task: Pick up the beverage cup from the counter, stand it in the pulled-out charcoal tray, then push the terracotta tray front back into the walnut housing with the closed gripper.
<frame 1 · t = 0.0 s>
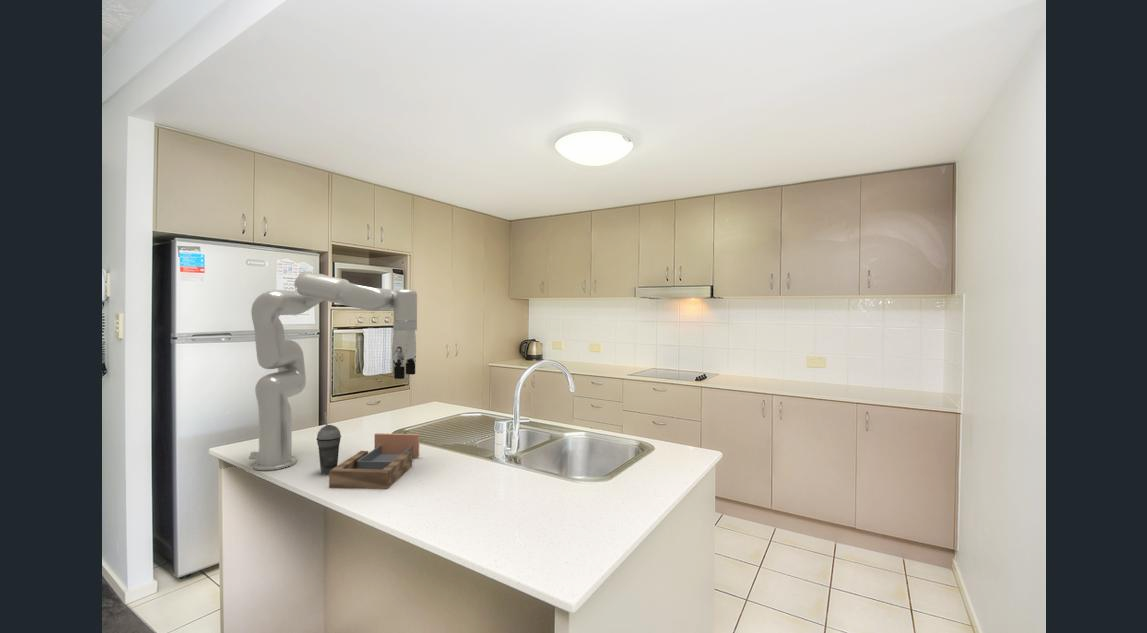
hand: (405, 376, 161), 31 cm above the counter, tool pointing down, fingers open, 9 cm apart
tray: (387, 452, 163), point 4 cm above the counter, slide at 8.0 cm
beverage cup: (329, 473, 156), on the counter
housing: (375, 474, 155), on the counter
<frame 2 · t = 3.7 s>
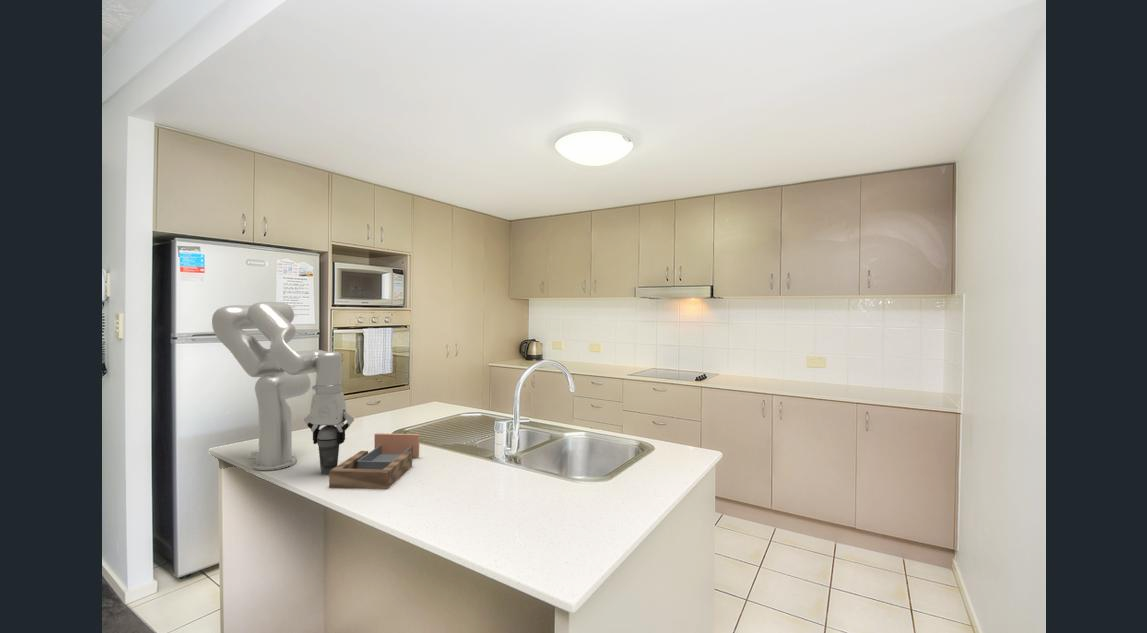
hand: (329, 442, 156), 10 cm above the counter, tool pointing down, fingers closed on beverage cup, 7 cm apart
beverage cup: (328, 472, 156), on the counter, touching gripper
everything else where it was.
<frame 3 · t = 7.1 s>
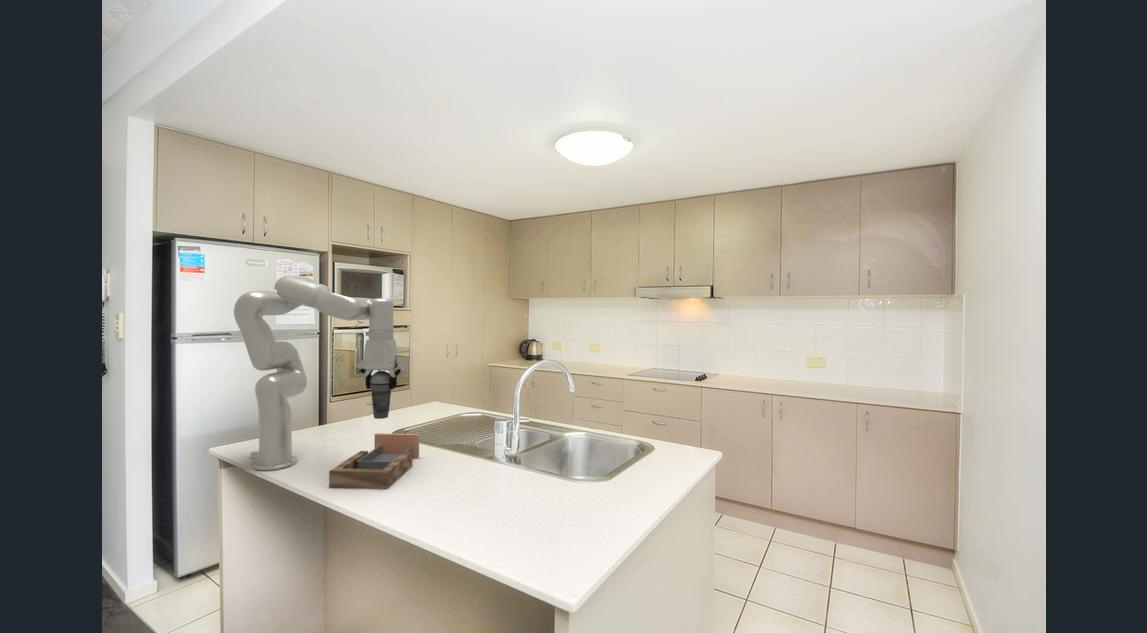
hand: (381, 388, 158), 28 cm above the counter, tool pointing down, fingers closed on beverage cup, 7 cm apart
beverage cup: (381, 417, 159), point 18 cm above the counter, touching gripper
everything else where it was.
when the fingers open (12 cm above the counter, at t = 10.5 s): beverage cup stays where it is, resting on tray.
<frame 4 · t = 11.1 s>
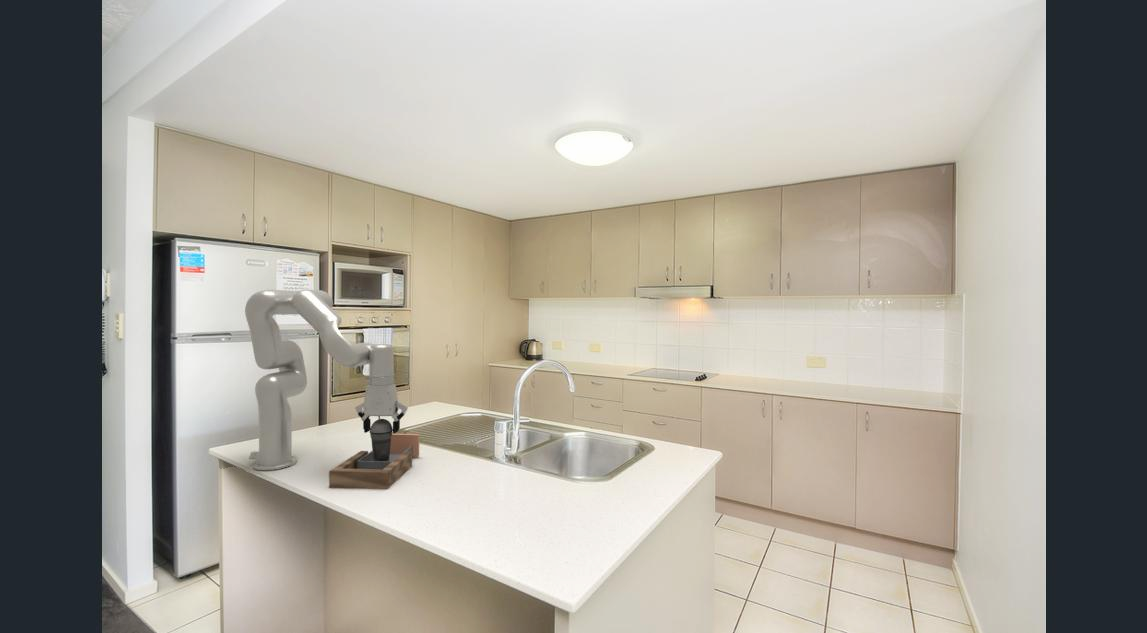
hand: (381, 431, 159), 13 cm above the counter, tool pointing down, fingers open, 9 cm apart
tray: (387, 452, 163), point 4 cm above the counter, slide at 8.0 cm, touching beverage cup
beverage cup: (381, 465, 159), point 1 cm above the counter, touching tray
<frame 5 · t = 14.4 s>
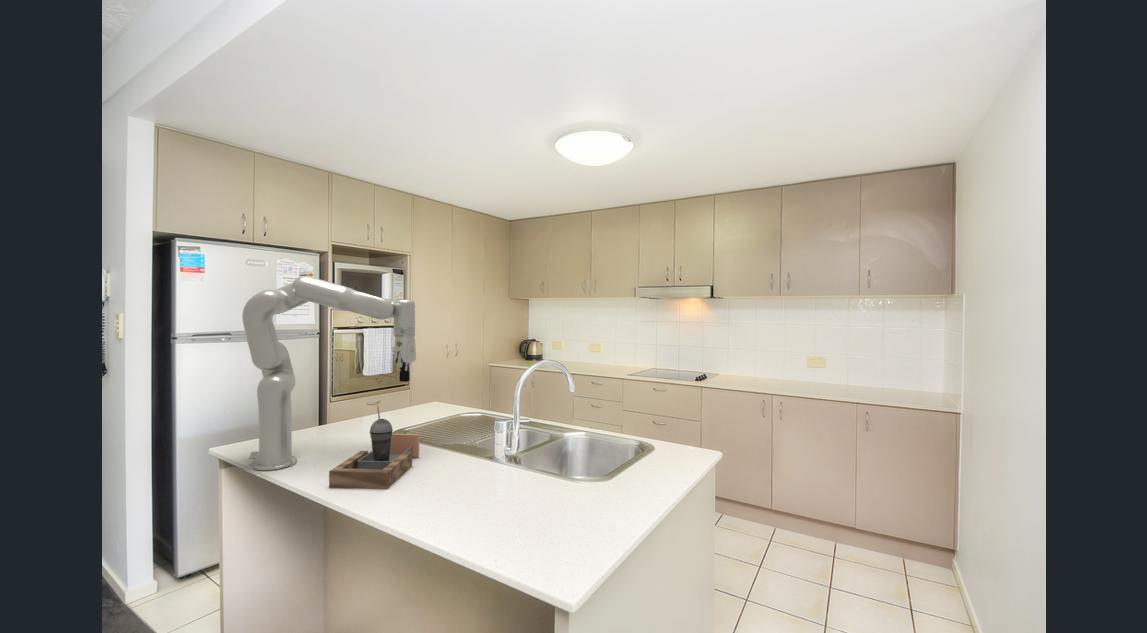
hand: (404, 381, 178), 27 cm above the counter, tool pointing down, fingers closed
nothing on the counter moved.
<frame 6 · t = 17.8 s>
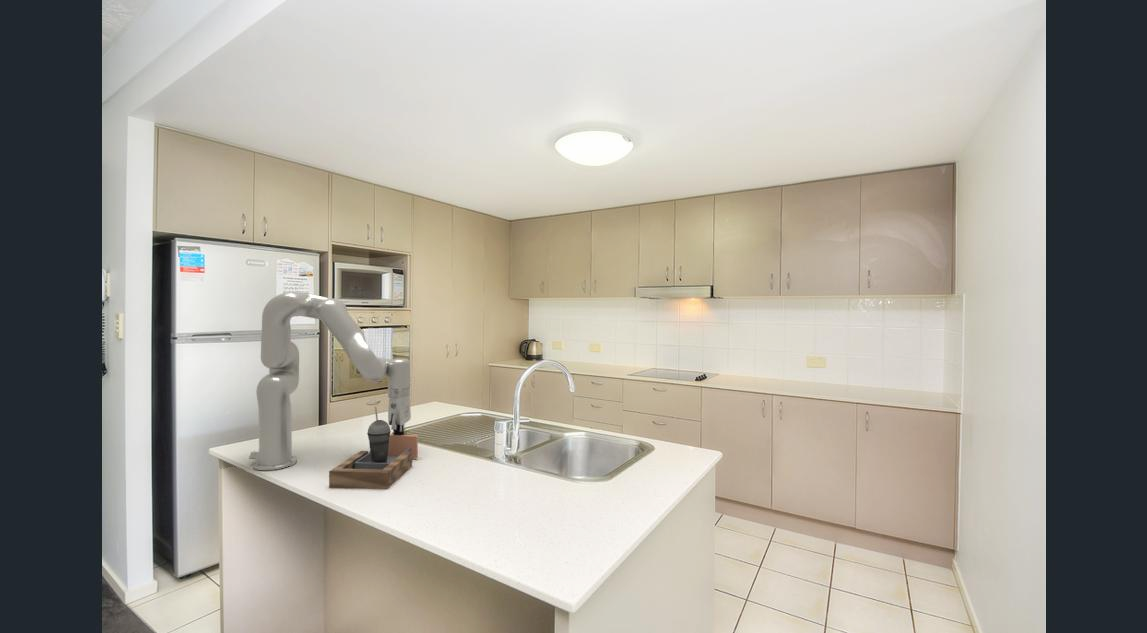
hand: (398, 442, 174), 5 cm above the counter, tool pointing down, fingers closed
tray: (385, 453, 162), point 4 cm above the counter, slide at 6.4 cm, touching beverage cup, gripper
beverage cup: (379, 467, 157), point 1 cm above the counter, touching tray
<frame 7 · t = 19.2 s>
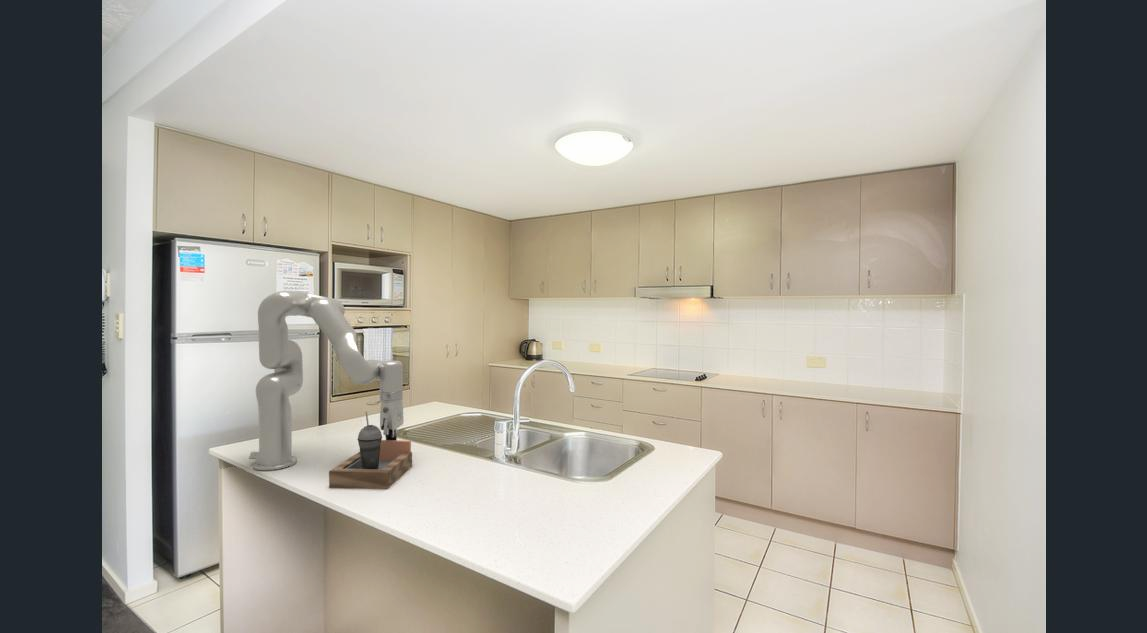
hand: (391, 447, 167), 5 cm above the counter, tool pointing down, fingers closed
tray: (376, 460, 155), point 4 cm above the counter, slide at -0.2 cm, touching beverage cup, gripper
beverage cup: (369, 474, 151), point 1 cm above the counter, touching tray
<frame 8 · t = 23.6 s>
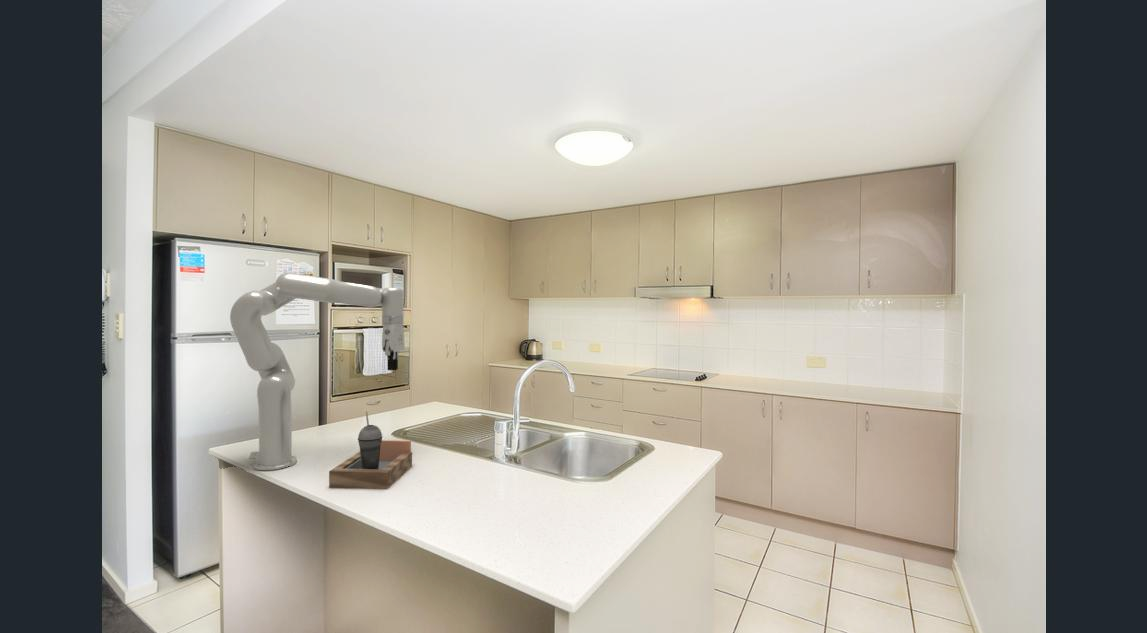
hand: (392, 369, 177), 31 cm above the counter, tool pointing down, fingers closed
tray: (376, 460, 155), point 4 cm above the counter, slide at 0.0 cm, touching beverage cup
everything else where it was.
at the end: tray slide at 0.0 cm; beverage cup inside the target area on the housing (1.0 cm from its centre), point 1.3 cm above the housing's base; beverage cup tilted 0° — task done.
